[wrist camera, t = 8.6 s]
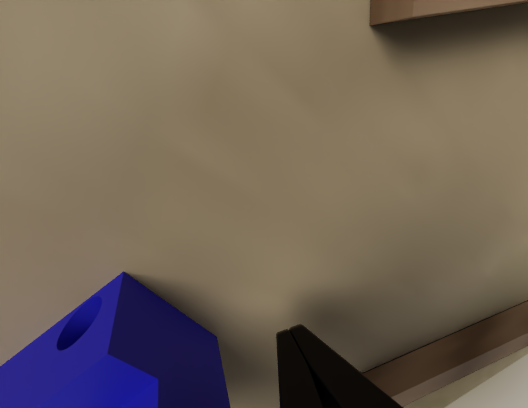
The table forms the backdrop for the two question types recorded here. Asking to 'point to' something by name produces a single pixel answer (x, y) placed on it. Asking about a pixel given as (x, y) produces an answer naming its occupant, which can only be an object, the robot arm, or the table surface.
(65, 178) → the table surface
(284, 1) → the table surface
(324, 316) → the table surface
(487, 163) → the table surface
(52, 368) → the cable clip
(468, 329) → the brown wooden bars
